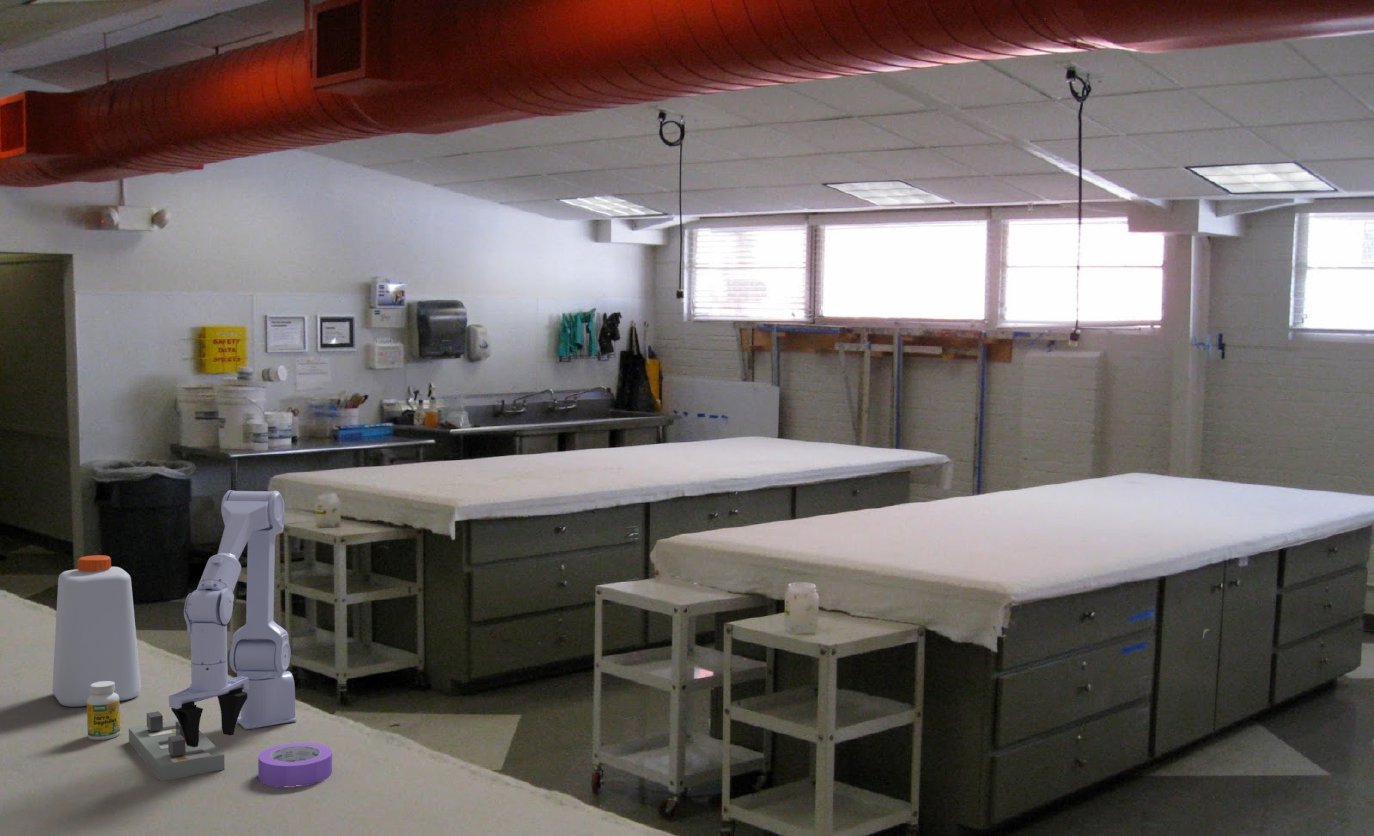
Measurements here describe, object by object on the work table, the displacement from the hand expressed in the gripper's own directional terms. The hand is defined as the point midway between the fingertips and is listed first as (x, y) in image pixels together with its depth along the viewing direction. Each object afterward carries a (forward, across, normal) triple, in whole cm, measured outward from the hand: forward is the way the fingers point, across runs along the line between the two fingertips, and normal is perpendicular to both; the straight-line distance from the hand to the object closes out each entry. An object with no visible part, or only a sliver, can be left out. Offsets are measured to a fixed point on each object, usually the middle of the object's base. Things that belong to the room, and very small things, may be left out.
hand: (210, 739), depth 214 cm
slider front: (+1, +5, -2) cm, 6 cm away
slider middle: (+1, -1, -8) cm, 8 cm away
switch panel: (+4, 0, -9) cm, 10 cm away
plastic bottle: (+4, -14, -53) cm, 55 cm away
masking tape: (+5, -4, +16) cm, 17 cm away
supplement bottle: (+4, 0, -29) cm, 29 cm away
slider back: (+1, -1, -17) cm, 17 cm away
